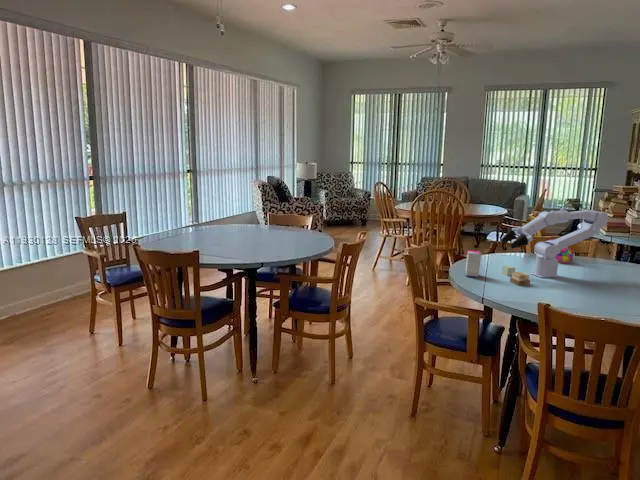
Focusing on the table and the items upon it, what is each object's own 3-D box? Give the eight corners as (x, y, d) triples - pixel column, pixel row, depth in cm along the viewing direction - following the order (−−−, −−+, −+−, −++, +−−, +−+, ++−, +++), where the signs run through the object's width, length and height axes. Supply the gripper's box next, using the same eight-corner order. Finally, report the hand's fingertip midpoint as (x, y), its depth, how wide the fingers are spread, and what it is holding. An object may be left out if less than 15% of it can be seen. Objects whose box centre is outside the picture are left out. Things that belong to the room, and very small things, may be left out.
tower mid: (521, 277, 223) (521, 271, 223) (528, 280, 219) (529, 274, 218) (511, 277, 222) (512, 272, 222) (518, 280, 217) (519, 275, 217)
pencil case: (540, 254, 281) (542, 238, 280) (557, 255, 281) (559, 239, 279) (555, 263, 260) (557, 247, 258) (573, 264, 259) (575, 248, 258)
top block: (509, 273, 238) (510, 265, 237) (514, 275, 234) (515, 267, 233) (501, 273, 236) (502, 265, 236) (507, 276, 233) (508, 267, 232)
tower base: (521, 282, 225) (521, 276, 224) (529, 286, 219) (530, 280, 218) (509, 282, 223) (510, 277, 222) (517, 286, 217) (518, 281, 217)
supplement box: (478, 277, 228) (481, 253, 226) (465, 276, 229) (467, 252, 227) (477, 274, 233) (479, 251, 231) (464, 273, 235) (466, 250, 232)
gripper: (518, 217, 235) (494, 233, 234) (537, 225, 221) (512, 241, 221) (523, 229, 237) (500, 244, 237) (543, 238, 224) (518, 254, 223)
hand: (506, 244), depth 229 cm, fingers open, 7 cm apart
